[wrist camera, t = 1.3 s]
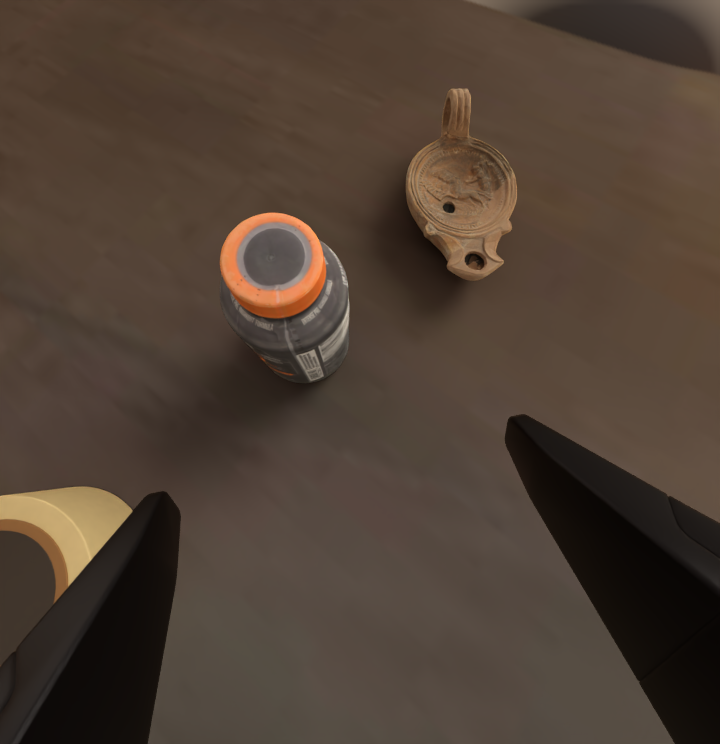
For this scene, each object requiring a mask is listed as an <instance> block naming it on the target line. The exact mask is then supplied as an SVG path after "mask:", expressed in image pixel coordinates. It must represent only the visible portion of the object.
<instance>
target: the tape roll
mask: <svg viewBox="0 0 720 744" xmlns="http://www.w3.org/2000/svg"><path fill="white" fill-rule="evenodd" d="M132 512H133V511H132V509H131V508H130V507H129V506H128V505H127V504H126V503H125V502H124V501H122V500H121V499H120V498H118V497H117V496H115V495H113V494H111V493H109V492H107V491H104V490H101V489H98V488H93V487H81V486H80V487H69V488H61V489H52V490H44V491H36V492H28V493H20V494H12V495H3V496H0V666H1V665H2V664H3V663H4V661H5V660H6V659H7V658H8V657H9V656H10V654H11V653H12V652H14V651H16V648H17V646H18V645H19V644H20V643H21V642H22V640H23V639H24V638H25V637H26V636H27V635H28V633H29V632H30V631H31V630H32V629H33V628H34V626H35V625H36V624H37V623H38V622H39V621H40V619H41V618H42V617H43V616H44V615H45V614H46V612H47V611H48V610H49V609H50V608H51V606H52V605H53V604H54V603H55V602H56V601H57V599H58V598H59V597H60V596H61V595H62V594H63V592H64V591H65V590H66V589H67V588H68V587H69V585H70V584H71V583H72V582H73V581H74V580H75V578H76V577H77V576H78V575H79V574H80V572H81V571H82V570H83V569H84V568H85V567H86V565H87V564H88V563H89V562H90V561H91V560H92V558H93V557H94V556H95V555H96V554H97V553H98V551H99V550H100V549H101V548H102V547H103V546H104V544H105V543H106V542H107V541H108V540H109V538H110V537H111V536H112V535H113V534H114V533H115V531H116V530H117V529H118V528H119V527H120V526H121V524H122V523H123V522H124V521H125V520H126V519H127V517H128V516H129V515H130V514H131V513H132Z"/></svg>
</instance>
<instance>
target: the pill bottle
mask: <svg viewBox="0 0 720 744" xmlns="http://www.w3.org/2000/svg"><path fill="white" fill-rule="evenodd" d="M220 267H221V273H222V277H221V282H220V302H221V307H222V310H223V313H224V316H225V318H226V320H227V321H228V323H229V325H230V326H231V328H232V329H233V330H234V331H235V332H236V334H237V335H238V336H239V337H240V338H241V339H242V340H243V341H244V342H245V343H246V344H247V345H248V346H249V347H250V348H251V349H252V350H253V351H254V352H255V353H256V354H257V355H258V356H259V358H260V359H261V360H262V361H263V362H264V363H265V364H266V365H267V366H268V367H269V368H270V369H271V370H272V371H273V372H274V373H276V374H277V375H278V376H280V377H282V378H284V379H286V380H289V381H291V382H296V383H312V382H317V381H320V380H322V379H324V378H326V377H328V376H330V375H331V374H332V373H334V372H335V371H336V370H337V369H338V368H339V367H340V365H341V364H342V362H343V360H344V358H345V356H346V354H347V351H348V345H349V294H348V281H347V277H346V273H345V270H344V268H343V266H342V264H341V262H340V260H339V259H338V257H337V256H336V255H335V253H334V252H333V251H332V250H331V249H330V248H329V247H328V246H327V245H326V244H324V243H323V242H321V241H320V240H318V238H317V236H316V234H315V233H314V232H313V231H312V229H311V228H310V227H309V226H308V225H306V224H305V223H303V222H302V221H301V220H299V219H297V218H295V217H292V216H289V215H286V214H282V213H265V214H260V215H256V216H253V217H251V218H249V219H247V220H245V221H243V222H241V223H240V224H239V225H238V226H236V227H235V228H234V229H233V230H232V232H231V233H230V234H229V235H228V237H227V239H226V241H225V243H224V245H223V247H222V250H221V257H220Z"/></svg>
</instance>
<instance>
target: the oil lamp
mask: <svg viewBox="0 0 720 744" xmlns="http://www.w3.org/2000/svg"><path fill="white" fill-rule="evenodd" d="M470 112H471V96H470V93H469V91H468V89H461V88H460V89H450V91H449V92H448V94H447V96H446V100H445V105H444V109H443V113H442V137H441V138H440V139H438V140H437V141H435V142H433V143H431V144H429V145H428V146H426V147H425V148H423V149H422V150H421V151H419V152H418V153H417V154H416V155H415V157H414V158H413V160H412V161H411V163H410V166H409V168H408V172H407V176H406V197H407V204H408V207H409V209H410V212H411V215H412V216H413V218H414V220H415V222H416V223H417V225H418V226H419V228H420V229H421V230H422V231H423V233H424V236H425V237H426V238H427V239H428V240H430V241H431V242H432V243H433V244H434V245H435V246H436V247H437V248H438V249H439V250H440V251H441V252H442V254H443V255H444V256H445V258H446V259H447V261H448V264H447V269H448V270H449V271H451V272H452V273H454V274H456V275H457V276H459V277H461V278H463V279H465V280H469V281H477V280H480V279H483V278H484V277H486V276H487V275H489V274H490V273H492V272H493V271H494V270H496V269H497V268H498V267H500V266H501V265H502V264H503V263H504V261H503V260H502V259H501V258H500V257H499V256H498V255H497V254H496V248H497V244H498V242H499V240H500V237H501V236H502V235H504V234H506V233H508V232H510V231H511V229H512V227H511V222H510V221H509V220H508V219H509V218H510V216H511V214H512V212H513V209H514V206H515V204H516V200H517V185H516V178H515V175H514V173H513V171H512V169H511V167H510V165H509V163H508V162H507V160H506V159H505V157H504V156H503V155H502V154H501V153H500V152H499V151H497V150H496V149H495V148H493V147H492V146H490V145H488V144H486V143H484V142H482V141H480V140H477V139H475V138H472V137H470V136H469V122H470Z"/></svg>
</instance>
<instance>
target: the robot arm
mask: <svg viewBox="0 0 720 744" xmlns="http://www.w3.org/2000/svg"><path fill="white" fill-rule="evenodd" d="M505 444H506V447H507V449H508V451H509V453H510V455H511V458H512V460H513V462H514V464H515V466H516V469H517V471H518V473H519V475H520V478H521V480H522V482H523V484H524V486H525V489H526V491H527V493H528V495H529V497H530V499H531V500H532V502H533V504H534V506H535V507H536V509H537V511H538V513H539V514H540V516H541V518H542V519H543V521H544V523H545V524H546V526H547V528H548V529H549V531H550V533H551V534H552V536H553V538H554V540H555V541H556V543H557V545H558V546H559V548H560V550H561V551H562V553H563V555H564V556H565V558H566V560H567V562H568V563H569V565H570V567H571V568H572V570H573V572H574V573H575V575H576V577H577V578H578V580H579V582H580V583H581V585H582V587H583V589H584V590H585V592H586V594H587V595H588V597H589V599H590V600H591V602H592V604H593V605H594V607H595V609H596V611H597V612H598V614H599V616H600V617H601V619H602V621H603V622H604V624H605V626H606V627H607V629H608V631H609V633H610V634H611V636H612V638H613V639H614V641H615V643H616V644H617V646H618V648H619V649H620V651H621V653H622V654H623V656H624V658H625V660H626V661H627V663H628V665H629V666H630V668H631V670H632V671H633V673H634V675H635V676H636V678H637V680H638V681H640V682H639V683H640V685H641V687H642V689H643V690H644V692H645V694H646V695H647V697H648V699H649V701H650V702H651V704H652V706H653V707H654V709H655V711H656V712H657V714H658V716H659V717H660V719H661V721H662V723H663V724H664V726H665V728H666V729H667V731H668V733H669V734H670V736H671V738H672V739H673V741H674V743H675V744H720V523H718V522H716V521H715V520H713V519H711V518H709V517H707V516H705V515H704V514H702V513H700V512H698V511H696V510H694V509H693V508H691V507H689V506H687V505H685V504H684V503H682V502H680V501H678V500H676V499H675V498H673V497H671V496H667V494H666V493H664V492H662V491H660V490H659V489H657V488H655V487H653V486H651V485H650V484H648V483H646V482H644V481H643V480H641V479H639V478H637V477H636V476H634V475H632V474H630V473H628V472H627V471H625V470H623V469H621V468H620V467H618V466H616V465H614V464H613V463H611V462H609V461H607V460H605V459H604V458H602V457H600V456H598V455H597V454H595V453H593V452H591V451H589V450H588V449H586V448H584V447H582V446H581V445H579V444H577V443H575V442H574V441H572V440H570V439H568V438H566V437H565V436H563V435H561V434H559V433H558V432H556V431H554V430H552V429H551V428H549V427H547V426H545V425H543V424H542V423H540V422H538V421H536V420H535V419H533V418H531V417H529V416H527V415H525V414H521V415H516V416H511V417H510V418H509V419H508V422H507V428H506V434H505ZM180 521H181V515H180V511H179V509H178V507H177V506H176V504H175V503H174V501H173V500H172V499H171V497H170V496H169V495H168V493H167V492H164V491H161V492H156V493H152V494H149V495H147V496H146V497H145V498H144V499H143V500H142V501H141V502H140V503H139V504H138V506H137V507H136V508H135V509H134V510H133V512H132V513H131V514H130V515H129V516H128V517H127V519H126V520H125V521H124V522H123V523H122V524H121V526H120V527H119V528H118V529H117V530H116V531H115V533H114V534H113V535H112V536H111V537H110V538H109V540H108V541H107V542H106V543H105V544H104V546H103V547H102V548H101V549H100V550H99V551H98V553H97V554H96V555H95V556H94V557H93V558H92V560H91V561H90V562H89V563H88V564H87V565H86V567H85V568H84V569H83V570H82V571H81V572H80V574H79V575H78V576H77V577H76V578H75V580H74V581H73V582H72V583H71V584H70V585H69V587H68V588H67V589H66V590H65V591H64V592H63V594H62V595H61V596H60V597H59V598H58V599H57V601H56V602H55V603H54V604H53V605H52V606H51V608H50V609H49V610H48V611H47V612H46V614H45V615H44V616H43V617H42V618H41V619H40V621H39V622H38V623H37V624H36V625H35V626H34V628H33V629H32V630H31V631H30V632H29V633H28V635H27V636H26V637H25V638H24V639H23V640H22V642H21V643H20V644H19V645H18V646H17V648H16V651H14V652H12V653H11V654H10V656H9V657H8V658H7V659H6V660H5V661H4V663H3V664H2V665H1V666H0V744H148V738H149V733H150V727H151V721H152V716H153V710H154V704H155V699H156V693H157V687H158V682H159V676H160V670H161V665H162V659H163V653H164V648H165V642H166V636H167V631H168V625H169V619H170V614H171V608H172V602H173V597H174V591H175V585H176V578H177V567H178V552H179V536H180Z"/></svg>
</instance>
